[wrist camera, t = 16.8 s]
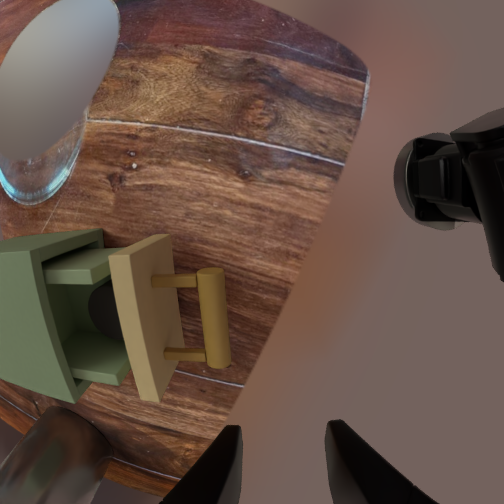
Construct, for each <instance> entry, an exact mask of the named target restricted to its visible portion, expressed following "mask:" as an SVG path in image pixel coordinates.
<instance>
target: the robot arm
mask: <svg viewBox="0 0 504 504" xmlns="http://www.w3.org/2000/svg"><path fill="white" fill-rule="evenodd" d="M450 135H451V138H452V140H453V141H455V143H452V142H446V141H440V140H433V139H426V138H416V139H414V140H413V157H414V162H413V163H412V165H413V194H414V196H415V218H416V219H417V220H418V221H422V222H474V223H479V224H483V227H484V230H485V234H486V239H487V243H488V247H489V253H490V257H491V261H492V266H493V268H494V269H495V271H496V272H497V273H498V274H499V275H500V280H501V281H503V282H504V108H501V109H498V110H495V111H492V112H489V113H487V114H485V115H483V116H481V117H479V118H477V119H475V120H473V121H472V122H470V123H468V124H466V125H464V126H462V127H460V128H458V129H456V130H454V131H453V132H451V133H450ZM418 142H419V143H420V147H419V146H418V144H417V143H418ZM421 212H422V214H423V215H422V217H420V213H421ZM325 451H326V460H327V469H328V479H329V486H330V491H331V495H332V499H333V503H334V504H439V503H437V502H436V501H434V500H433V499H431V498H430V497H429V496H428V495H426V494H425V493H424V492H423V491H421V490H420V489H419V488H418V487H417V486H413V483H412V482H411V481H409V480H408V479H407V478H406V477H405V476H403V475H402V474H401V473H400V472H399V471H398V470H397V469H395V468H394V467H393V466H392V465H391V464H390V463H389V462H387V461H386V460H385V459H384V458H383V457H382V456H381V455H380V454H379V453H377V452H376V451H375V450H374V449H373V448H372V447H371V446H369V444H368V443H367V442H365V441H364V440H363V439H362V438H361V437H360V436H359V435H358V434H357V433H356V432H355V431H354V430H353V429H351V428H350V427H349V426H348V425H347V424H346V423H345V422H344V421H343V420H341V419H339V420H331V421H329V422H328V423H327V428H326V434H325ZM242 455H243V441H242V433H241V427H240V426H239V425H227V426H226V427H224V429H223V430H222V431H221V432H220V434H219V435H218V436H217V437H216V439H215V440H214V441H213V442H212V444H211V445H210V446H209V447H208V448H207V450H206V451H205V452H204V453H203V454H202V456H201V457H200V458H199V459H198V460H197V462H196V463H195V464H194V465H193V466H192V467H191V469H190V470H189V471H188V472H187V473H186V474H185V475H184V477H183V478H182V479H181V480H180V481H179V482H178V483H177V484H176V486H175V487H174V488H173V489H172V490H171V491H170V492H169V493H168V494H167V495H166V496H165V497H164V499H163V501H161V502H160V503H159V504H238V503H239V498H240V492H241V480H242Z"/></svg>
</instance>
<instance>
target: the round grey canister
mask: <svg viewBox="0 0 504 504" xmlns="http://www.w3.org/2000/svg"><path fill="white" fill-rule="evenodd" d="M112 459H113V450H112V448H111V446H110V444H109V442H108V441H107V440H106V438H105V437H104V436H103V435H102V434H101V433H100V432H99V431H98V430H97V429H96V428H95V427H94V426H93V425H91V424H90V423H89V422H88V421H86V420H85V419H83V418H82V417H80V416H79V415H77V414H75V413H74V412H72V411H70V410H67V409H65V408H62V407H55V406H53V407H49V408H48V409H47V410H46V411H45V412H44V413H43V414H42V415H41V417H40V418H39V419H38V420H37V421H36V422H35V424H34V425H33V426H32V427H31V428H30V430H29V431H28V432H27V433H26V434H25V436H24V437H23V438H22V439H21V440H20V442H19V443H18V444H17V445H16V447H15V448H14V449H13V450H12V452H11V453H10V454H9V455H8V456H7V458H6V459H5V460H4V461H3V463H2V464H1V465H0V504H90V503H91V501H92V499H93V497H94V495H95V493H96V490H97V489H98V487H99V485H100V483H101V480H102V479H103V477H104V475H105V473H106V471H107V469H108V467H109V465H110V463H111V461H112Z"/></svg>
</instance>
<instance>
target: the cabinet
mask: <svg viewBox="0 0 504 504" xmlns="http://www.w3.org/2000/svg"><path fill="white" fill-rule="evenodd" d="M85 249H104V240H103V231H102V228H99V229H88V230H77V231H67V232H57V233H47V234H38V235H29V236H20V237H14V238H11V239H7V240H3V241H0V378H1V379H3V380H6V381H8V382H11V383H13V384H16V385H18V386H21V387H24V388H26V389H29V390H32V391H35V392H38V393H41V394H44V395H47V396H50V397H53V398H56V399H60V400H63V401H67V402H70V403H74V404H75V403H76V402H77V401H78V400H79V398H80V396H82V394H83V393H84V392H85V391H86V389H87V388H88V387H89V386H90V384H91V383H92V382H93V381H89V380H84V379H79V378H74V377H72V374H71V372H70V369H69V366H68V364H67V361H66V358H65V355H64V352H63V349H62V346H61V343H60V340H59V336H58V333H57V330H56V326H55V323H54V319H53V315H52V311H51V308H50V303H49V299H48V295H47V291H46V286H45V281H44V276H43V271H42V265H41V262H42V261H45V260H47V259H50V258H53V257H55V256H58V255H60V254H63V253H66V252H68V251H71V250H85Z"/></svg>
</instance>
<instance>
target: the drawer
mask: <svg viewBox="0 0 504 504" xmlns="http://www.w3.org/2000/svg"><path fill="white" fill-rule="evenodd" d="M41 265H42V271H43V276H44V281H45V286H46V291H47V295H48V299H49V303H50V308H51V311H52V315H53V319H54V323H55V326H56V330H57V333H58V336H59V340H60V343H61V346H62V349H63V352H64V355H65V358H66V361H67V364H68V366H69V369H70V372H71V374H72V377H74V378H79V379H84V380H89V381H94V382H99V383H105V384H111V385H117V386H119V385H120V384H121V382H122V381H123V379H124V378H125V377H126V375H127V374H128V372H129V371H130V369H131V368H132V371H133V375H134V378H135V382H136V385H137V388H138V391H139V395H140V398H141V400H145V401H153V402H160V401H161V399H162V397H163V395H164V392H165V390H166V388H167V386H168V384H169V382H170V380H171V377H172V375H173V373H174V371H175V369H176V367H177V365H178V362H179V361H196V362H206V360H207V364H208V365H209V366H210V367H212V368H215V369H222V368H225V367H228V366H229V365H230V364H231V362H232V360H231V349H230V338H229V326H228V314H227V302H226V289H225V276H224V270H223V269H222V268H217V267H210V268H203V269H200V270H198V271H197V274H175V271H174V262H173V252H172V242H171V234H155V235H153V236H150V237H148V238H146V239H144V240H141V241H139V242H137V243H135V244H133V245H130V246H128V247H123V248H104V249H85V250H71V251H68V252H66V253H63V254H60V255H58V256H55V257H53V258H50V259H47V260H45V261H42V262H41ZM110 279H112V283H113V289H114V295H115V300H116V305H117V310H118V315H119V319H120V324H121V328H122V333H123V337H124V340H116V339H112V338H109V337H107V336H105V335H104V334H103V333H101V332H100V331H99V330H98V329H97V328H96V326H95V325H94V323H93V322H92V320H91V318H90V315H89V310H88V301H89V298H90V295H91V293H92V292H93V291H94V290H95V289H96V288H98V287H99V286H101V285H103V284H104V283H106V282H107V281H109V280H110ZM197 286H198V292H199V301H200V310H201V319H202V327H203V335H204V343H205V349H203V348H185V344H184V338H183V331H182V325H181V318H180V311H179V304H178V296H177V288H176V287H197Z"/></svg>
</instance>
